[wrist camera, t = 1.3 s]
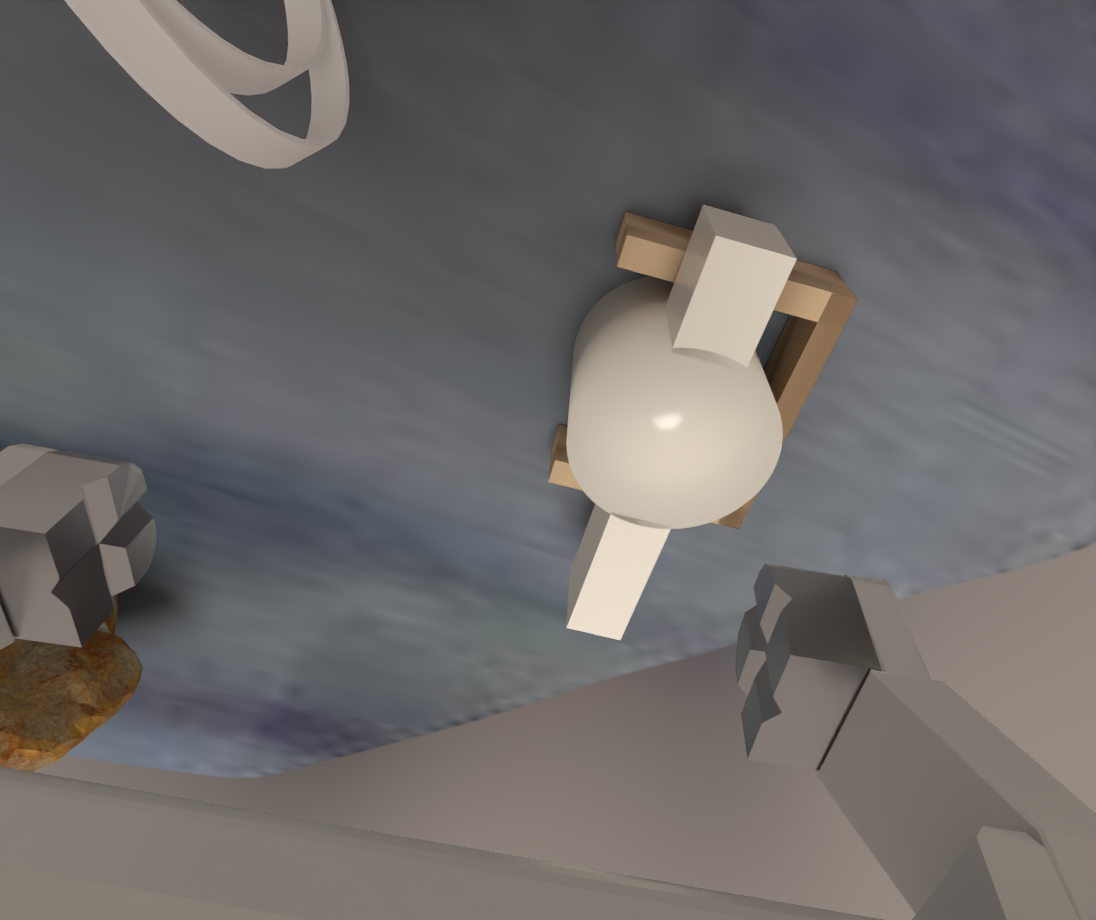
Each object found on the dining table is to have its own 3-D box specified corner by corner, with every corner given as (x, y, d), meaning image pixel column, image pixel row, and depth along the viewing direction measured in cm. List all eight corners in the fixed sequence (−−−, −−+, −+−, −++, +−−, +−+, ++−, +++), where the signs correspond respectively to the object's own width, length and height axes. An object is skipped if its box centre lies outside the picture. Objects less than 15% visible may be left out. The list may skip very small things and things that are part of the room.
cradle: (552, 445, 35) (548, 481, 33) (625, 211, 29) (627, 235, 27) (729, 489, 36) (738, 529, 33) (836, 271, 30) (857, 299, 27)
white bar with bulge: (522, 513, 38) (507, 614, 32) (629, 161, 28) (636, 213, 22) (666, 548, 38) (677, 653, 32) (819, 216, 29) (873, 280, 23)
